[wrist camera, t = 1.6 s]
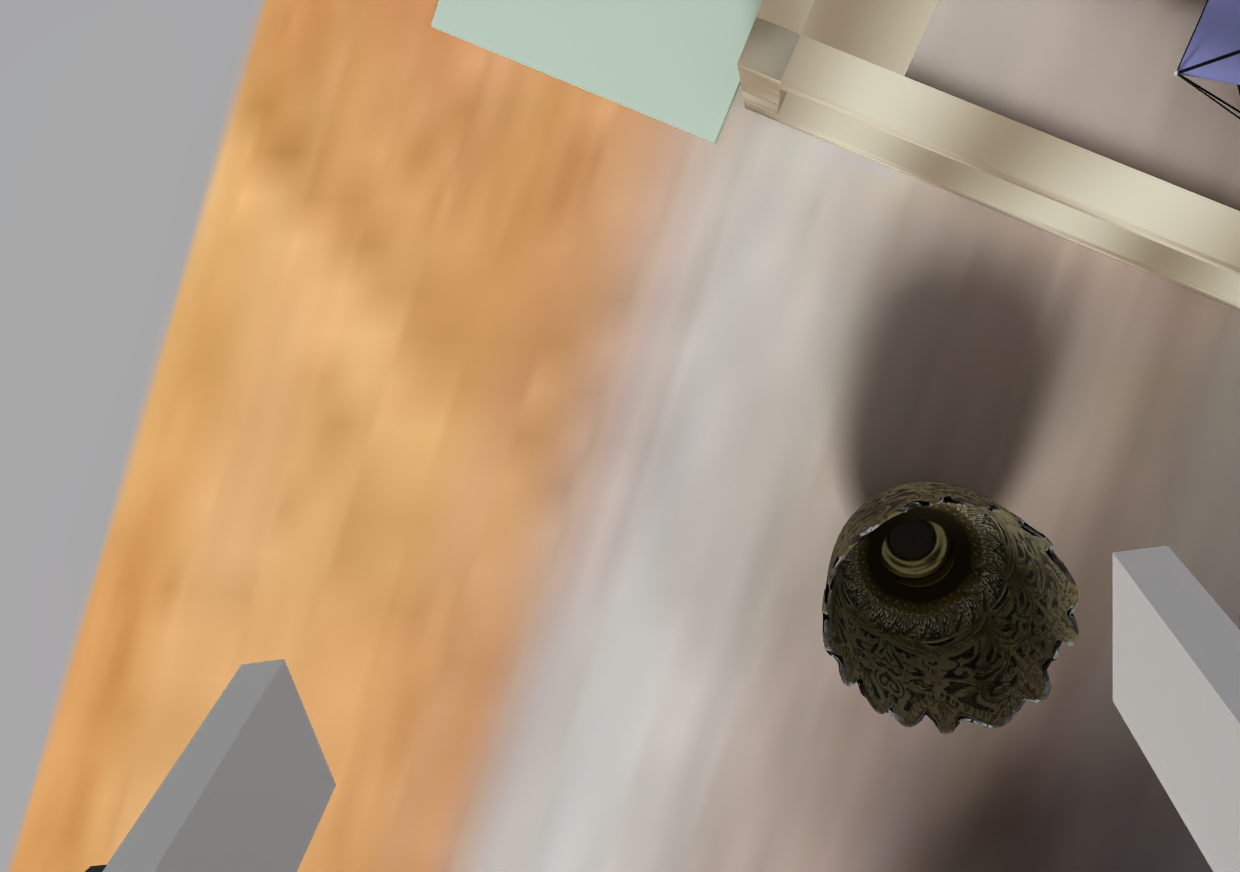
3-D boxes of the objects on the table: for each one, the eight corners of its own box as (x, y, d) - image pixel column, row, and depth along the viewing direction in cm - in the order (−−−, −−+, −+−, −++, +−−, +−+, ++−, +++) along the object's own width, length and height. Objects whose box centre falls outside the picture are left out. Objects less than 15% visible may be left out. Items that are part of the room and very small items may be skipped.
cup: (862, 411, 36) (887, 462, 29) (1050, 489, 36) (1127, 562, 28) (780, 584, 38) (783, 676, 30) (958, 660, 38) (1007, 773, 30)
